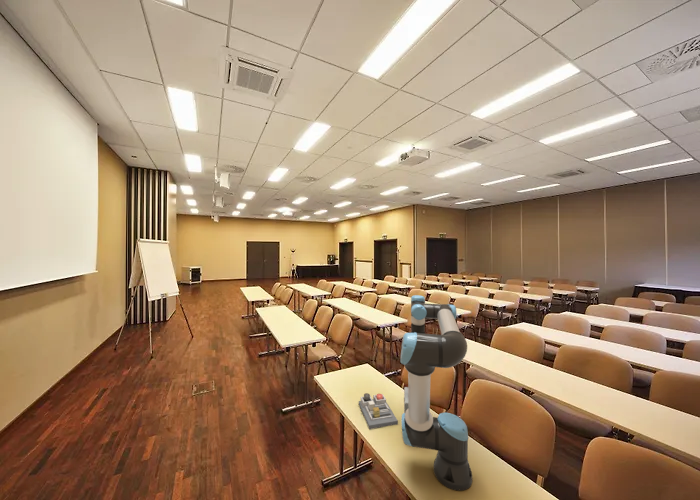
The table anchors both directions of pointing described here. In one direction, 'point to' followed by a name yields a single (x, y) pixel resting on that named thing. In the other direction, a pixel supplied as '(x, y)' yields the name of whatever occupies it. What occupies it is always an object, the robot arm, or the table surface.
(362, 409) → the panel
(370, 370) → the table surface
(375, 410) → the slider brass
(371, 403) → the slider white
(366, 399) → the button black
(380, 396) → the button red
